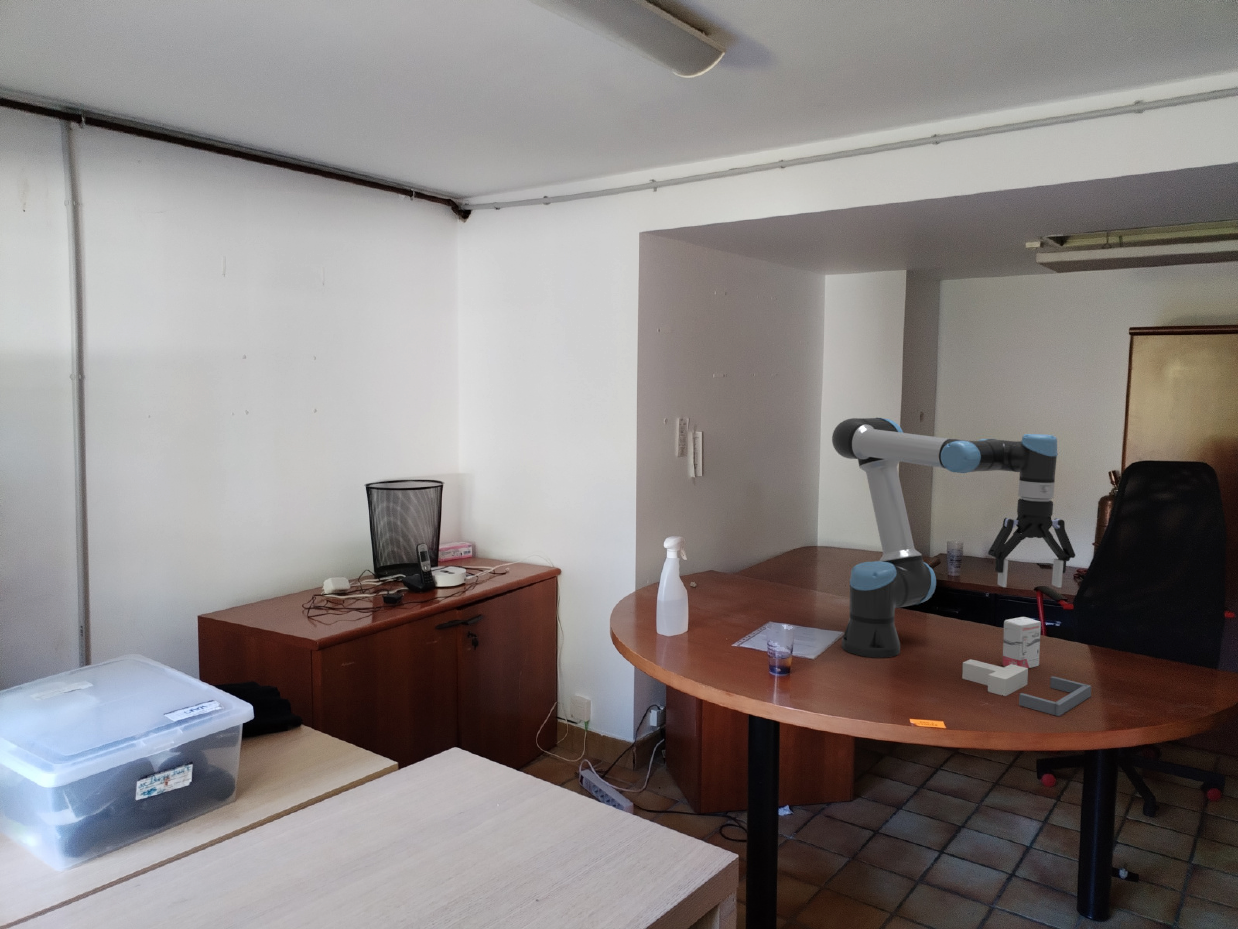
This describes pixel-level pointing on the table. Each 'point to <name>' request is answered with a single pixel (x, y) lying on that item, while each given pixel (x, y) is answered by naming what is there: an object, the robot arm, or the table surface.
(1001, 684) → the t block
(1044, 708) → the dock
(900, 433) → the robot arm
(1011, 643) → the ink box
